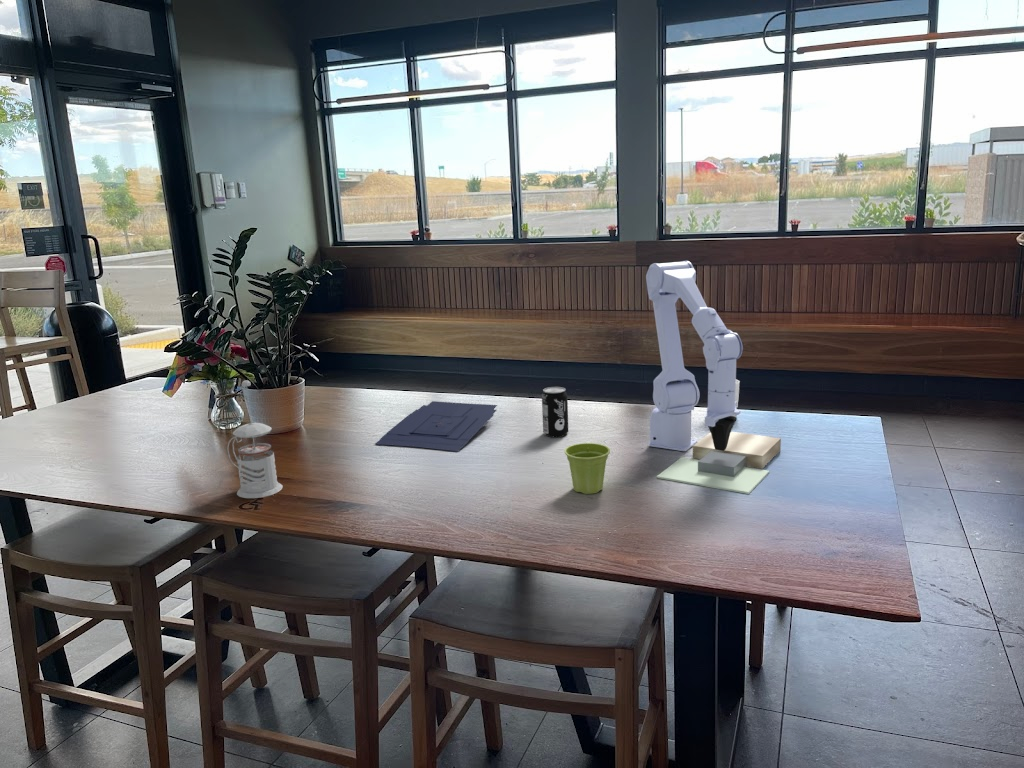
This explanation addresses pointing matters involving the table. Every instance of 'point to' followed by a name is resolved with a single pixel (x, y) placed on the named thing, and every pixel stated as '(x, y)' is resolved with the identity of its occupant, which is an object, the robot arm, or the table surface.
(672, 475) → the mat
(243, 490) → the french press
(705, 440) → the board
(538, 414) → the table surface
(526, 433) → the table surface
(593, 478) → the plant pot
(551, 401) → the beverage can
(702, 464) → the tile
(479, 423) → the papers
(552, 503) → the table surface
